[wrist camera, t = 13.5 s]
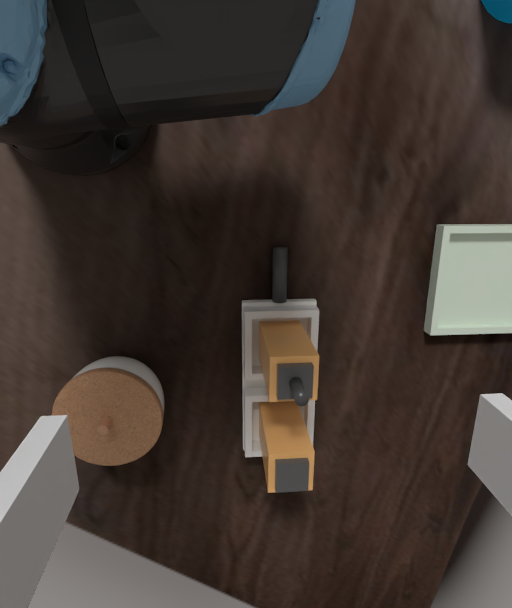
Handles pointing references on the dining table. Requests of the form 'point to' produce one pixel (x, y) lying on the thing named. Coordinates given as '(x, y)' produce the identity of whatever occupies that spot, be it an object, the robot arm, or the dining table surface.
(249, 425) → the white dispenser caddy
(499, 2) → the mug
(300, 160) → the dining table surface
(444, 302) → the tray
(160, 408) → the lidded jar
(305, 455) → the orange capped pillar
